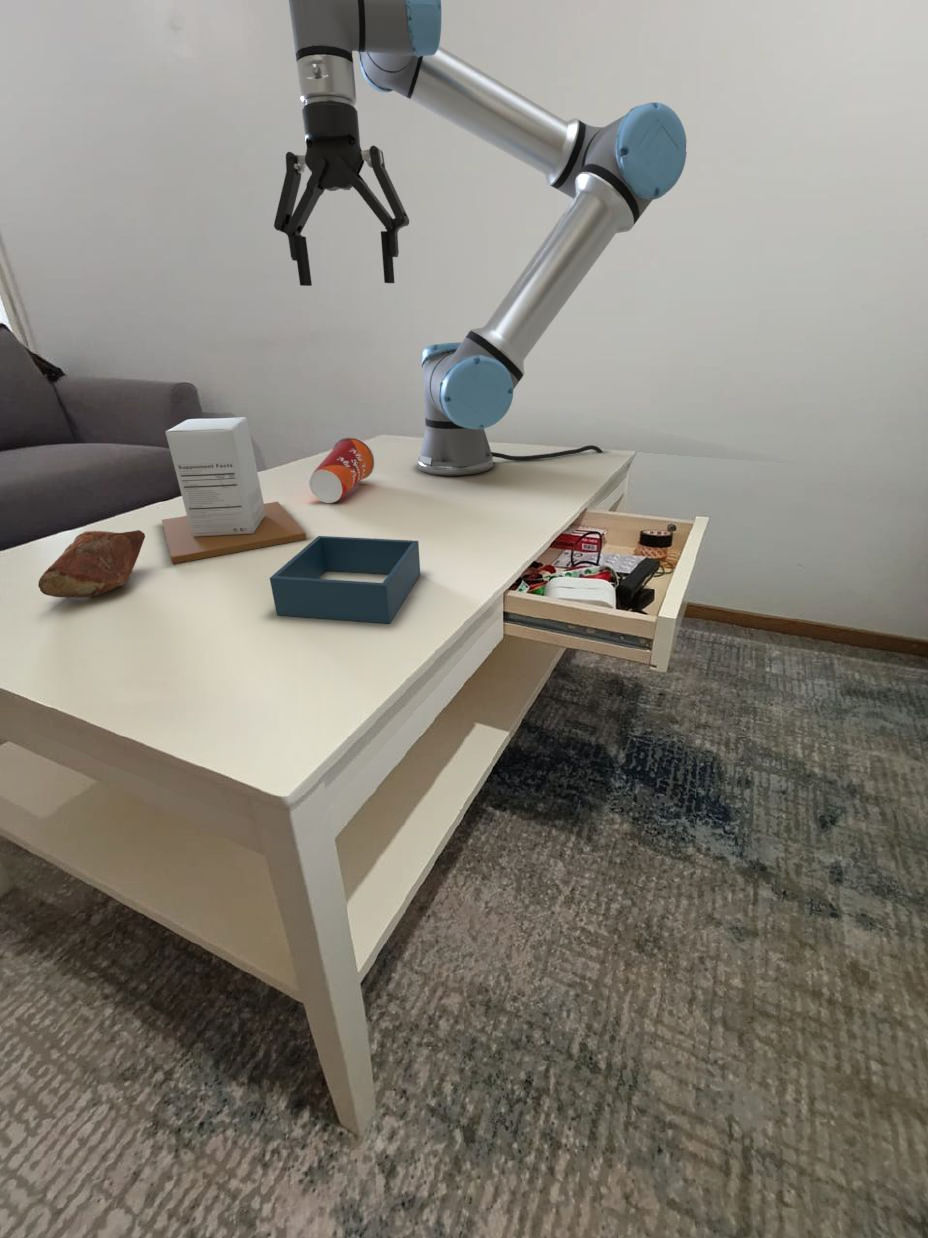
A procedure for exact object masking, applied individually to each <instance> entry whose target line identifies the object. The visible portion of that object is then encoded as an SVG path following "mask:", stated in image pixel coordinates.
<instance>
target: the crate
mask: <svg viewBox="0 0 928 1238" xmlns="http://www.w3.org/2000/svg"><path fill="white" fill-rule="evenodd" d="M326 571H328V572H329V571H330V572H342V573H343V572H345V573H363V574H375V575H376V574H378V575H387V576H386V578H385V579H384V580H383V581H382V582H376V581H375V582H373V581H357V580H343V579H327V578H326V579H325V578H320V577H321V576H322V575H323V574H324V573H325V572H326ZM420 575H421V559H420V545H419V540H410V539H409V540H408V539H391V538H390V539H388V538H371V537H370V538H369V537H351V536H350V537H348V536H329V535H328V536H327V535H318V536H316V537H315V538H314V539H313V540H312V541H311V542H310V543H308V544H307V545H306V546H304V547H303V548H302V549H301V550H300V551H299V552H298V553H297V554H296V555H294V556H293V557H292V558H291V559H290V560H288V561H287V562H286V563H285V564H284V565H282V567H280V568H279V570H277V571H276V572H275V573H274V574H272V575H271V576H270V577H269V582H270V587H271V593H272V598H273V603H274V607H275V612H276V616H285V617H299V618H312V619H322V620H323V619H325V620H337V621H338V620H339V621H352V622H365V623H376V624H377V623H378V624H390V623H391V622H392V620H393V619H394V617H395V616H396V614H397V612H398V611H399V609H400V608H401V606H402V605H403V603H404V601H405V600H406V598H407V596H409V593H410V592H411V590H412V588H413V587H414V585H415V584H416V582H417V580H418V579H419V577H420Z"/></svg>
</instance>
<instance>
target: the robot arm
mask: <svg viewBox="0 0 928 1238" xmlns="http://www.w3.org/2000/svg"><path fill="white" fill-rule="evenodd" d="M288 6H289V13H290V15H289V16H290V21H291V29H292V37H293V38H292V39H293V45H294V53H295V61H296V71H297V80H298V87H299V96H300V101H301V103H302V104H303V105H304V106H303V108H302V110H301V114H302V124H303V132H304V140H305V145H306V151H305V154H298V153H297V154H296V153H294V152H293V151H292V152H291V151H287V152H286V153H285V171H286V172H285V176H284V178H283V180H284V181H283V185H282V188H281V192H280V197H279V202H278V206H277V209H276V214H275V218H274V222H273V228H274V229H275V230H276V231H277V232H281V233H283V234H285V235H286V236H287V238H288V245H289V253H290V258H291V260H292V261H293V262H294V261H295V262H296V264H297V265H296V266H297V273H298V281H299V286H302V287H303V286H304V287H312V286H313V283H312V275H311V267H310V260H309V253H308V252H309V251H308V244H307V243H308V242H307V237H306V236H305V235H303V234H302V231H303V230H304V228H305V226H306V224H307V222H308V220H309V219H310V216H311V214H312V213H313V210H314V209H315V206H316V205H317V203H318V201H319V199H320V197H321V196H322V195H323V194H324V192H325V190H327V191H329V192H336V191H338V190H343V191H351V189H352V188H354V190H356V192H357V193H358V194H359V195H360V196H361V198H362V200H363V201H364V202H365V203H366V205H367V206H368V207H369V208H370V210H371V211H372V213H373V214H374V215H375V216H376V217H377V219H378V220H379V221H380V223H381V224H382V225H383V226H384V229H385V230H381V231H380V241H381V253H382V254H381V255H382V268H383V281H384V284H395V271H394V270H395V268H394V258H399V253H400V249H399V235H398V233H399V231H400V230H401V229H402V228H404V227H408V226H409V224H410V218H409V216H408V214H407V212H406V210H405V207H404V206H403V204H402V201H401V199H400V197H399V194H398V193H397V190H396V188H395V186H394V184H393V182H392V180H391V177H390V175H389V173H388V171H387V169H386V164H385V163H386V162H385V157H384V152H383V150H382V149H380V148H379V147H378V146H376V145H371V146H370V147H369V149H365V150H362V147H361V138H360V137H361V136H360V128H359V127H360V125H359V114H358V110H357V109H356V108H355V105H356V104H357V92H356V78H355V68H354V58H353V52H358V63H359V68H360V71H361V74H362V76H363V78H364V79H365V81H366V82H367V84H368V85H369V86H370V87H371V88H373V89H374V90H375V91H377V92H379V93H390V92H393V91H394V92H395V93H398V94H399V95H401V96H403V97H405V98H407V99H409V100H411V102H414V103H416V104H418V105H420V106H421V107H424V108H425V109H426V110H429V112H430V111H431V112H432V113H434V114H435V115H437V116H440V117H441V118H443V119H445V120H447V121H448V122H449V123H452V124H454V125H455V126H457V127H459V128H461V129H463V130H465V131H466V132H468V133H470V134H472V135H474V136H475V137H477V138H479V139H481V140H482V141H484V142H486V143H488V144H490V145H491V146H493V147H495V148H497V149H499V150H500V151H502V152H504V153H506V154H507V155H510V156H511V157H513V158H515V159H517V160H518V161H520V162H522V163H524V164H525V165H527V166H529V167H531V168H533V169H535V171H538V172H540V173H542V174H544V176H545V180H546V184H547V185H548V186H550V187H552V188H554V189H556V190H558V191H560V192H561V193H563V194H565V195H566V196H568V197H569V198H572V200H571V201H570V203H569V204H568V206H567V207H566V208H565V210H564V212H563V213H562V214H561V216H560V218H559V219H558V220H557V222H556V223H555V224H554V226H553V227H552V229H551V230H550V232H549V233H548V235H547V236H546V237H545V239H544V240H543V242H542V243H541V244H540V246H539V247H538V249H537V250H536V252H535V253H534V255H533V256H532V257H531V259H530V261H529V262H528V263H527V264H526V266H525V268H524V269H523V270H522V272H521V273H520V275H519V276H518V278H517V279H516V281H514V283H513V285H512V286H511V287H510V289H509V291H508V292H507V293H506V295H505V296H504V298H503V299H502V301H501V302H500V304H498V306H497V308H496V309H495V311H494V312H493V313H492V315H491V316H490V318H489V319H488V320H487V322H486V323H485V325H484V326H482V327H478V328H477V327H476V328H471V329H470V330H469V331H468V333H467V335H466V336H465V337H464V338H463V340H462V341H460V342H459V341H458V342H444V343H443V342H442V343H437V344H429V345H426V346H425V347H424V348H423V350H422V355H421V356H422V359H421V363H420V364H421V368H422V381H423V382H422V383H423V399H424V418H425V419H424V422H425V430H424V434H423V439H422V443H421V445H420V446H421V447H420V450H419V455H418V457H417V458H418V459H417V462H418V469H419V470H420V471H421V472H423V473H426V474H429V475H436V476H446V477H452V476H453V477H455V476H457V477H458V476H470V475H477V474H480V473H484V472H487V471H489V470H492V468H493V466H494V464H493V463H494V462H493V461H494V458H499V459H504V460H507V461H535V460H542V459H543V460H545V459H551V458H558V457H563V456H569V455H575V454H579V453H583V452H587V451H591V450H592V451H595V452H596V453H598V454H603V453H604V451H603V450H602V449H601V448H600V447H598V445H591V444H590V445H585V446H582V447H579V448H575V449H567V450H562V451H556V452H551V453H542V454H541V453H540V454H533V455H509V454H505V453H500V452H495V451H492V450H491V447H490V443H489V441H488V437H487V434H486V431H485V429H487V428H490V427H492V426H494V425H496V424H497V423H498V422H500V421H502V419H503V418H504V417H505V416H506V414H507V413H508V411H509V410H510V407H511V406H512V402H513V398H514V390H515V388H516V387H517V385H518V384H519V382H521V380H522V379H523V377H524V376H525V364H524V362H525V359H526V358H527V357H528V355H529V354H530V352H531V351H532V350H533V349H534V347H535V346H536V344H537V343H538V341H539V340H540V339H541V338H542V336H543V335H544V333H545V332H546V331H547V329H548V328H549V326H550V325H551V323H553V321H554V319H555V318H556V317H557V316H558V314H559V313H560V311H561V310H562V308H563V307H564V306H565V305H566V303H567V302H568V300H569V299H570V297H571V296H572V295H573V294H574V292H575V291H576V289H577V288H578V287H579V285H580V284H581V282H583V279H585V277H586V275H588V273H589V272H590V270H592V267H593V266H594V265H595V263H596V262H597V261H598V259H599V258H600V257H601V255H602V254H603V252H604V251H605V249H606V248H607V246H608V245H609V244H610V243H611V242H612V240H613V238H614V237H615V236H616V234H621V233H627V232H629V231H631V230H632V229H633V227H634V226H635V224H636V223H637V222H638V220H639V219H640V218H641V217H642V215H643V213H644V212H645V211H646V210H647V209H648V207H649V205H650V204H651V203H652V202H653V201H654V200H657V199H660V198H662V197H664V196H665V195H666V194H667V193H668V192H670V191H671V190H672V189H673V188H674V187H675V185H676V184H677V183H678V181H679V179H680V178H681V175H682V173H683V172H684V168H685V165H686V160H687V142H688V141H687V135H686V130H685V128H684V124H683V123H682V120H681V118H680V117H679V115H678V114H677V113H676V112H675V110H673V109H672V108H671V107H670V106H668V105H666V104H665V103H663V102H662V103H661V102H655V101H654V102H653V101H652V102H647V103H644V104H639V105H635V106H634V107H633V108H631V109H630V110H629V111H628V112H626V113H625V114H624V115H622V116H621V117H619V118H617V119H615V120H614V121H612V122H610V123H609V124H606V125H605V126H602V127H600V126H594V125H589V124H587V123H585V122H583V121H582V120H580V119H579V118H577V117H574V118H572V119H570V120H567V121H566V120H564V119H563V118H561V117H560V116H558V115H556V114H555V113H553V112H551V111H549V110H548V109H546V108H544V107H543V106H541V105H539V104H538V103H536V102H534V101H533V100H531V99H529V98H528V97H526V96H524V95H522V94H521V93H519V92H518V91H515V89H513V88H510V86H508V85H506V84H504V83H503V82H501V81H499V80H497V79H496V78H495V77H492V76H491V75H489V74H488V73H485V71H482V70H480V69H479V68H478V67H476V66H474V65H473V64H471V63H469V62H467V61H466V60H464V59H462V58H461V57H459V56H457V55H456V54H454V53H452V52H450V51H449V50H447V49H445V48H444V47H442V46H440V42H441V35H442V33H441V32H442V0H288ZM365 162H366V163H367V166H368V167H369V168H371V170H372V171H373V173H374V176H375V177H376V180H377V181H378V184H379V187H380V188H381V190H382V192H383V194H384V195H383V196H384V197H385V198H386V201H387V203H388V205H389V207H390V209H391V212H392V214H393V215H394V218H393V217H392V216H391V214H390V213H389V212H388V211H387V209H386V207H385V206H384V205H383V204H382V202H381V201H380V200H379V199H378V197H377V196H376V195H375V193H374V192H373V190H371V188H370V187H369V185H368V183H367V182H366V181H365V179H364V178H363V177H362V176H361V171H362V169H363V167H364V164H365ZM306 167H307V168H308V169H309V171H310V172H311V174H310V176H309V178H308V180H307V182H306V187H305V189H304V192H303V193H302V195H301V197H300V199H299V201H298V203H297V205H296V201H297V197H298V193H299V189H300V185H301V180H302V174H303V173H304V172H305V168H306ZM295 206H296V208H295Z"/></svg>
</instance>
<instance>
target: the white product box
mask: <svg viewBox="0 0 928 1238" xmlns="http://www.w3.org/2000/svg"><path fill="white" fill-rule="evenodd" d="M164 433H165V436H166V440H167V444H168V448H169V452H170V456H171V460H172V463H173V467H174V471H175V475H176V478H177V482H178V486H179V490H180V494H181V498H182V501H183V506H184V509H185V513H186V516H187V517H188V521H189V525H190V529H191V532H192V536H193V537H199V536H219V535H238V534H253V533H254V532H255V530H256V529H257V527H258V526H259V524H260V523H261V521H262V520H263V518H264V516H265V515H266V512H265V507H264V504H265V502H264V497H263V492H262V488H261V487H262V486H261V483H260V478H259V473H258V467H257V463H256V457H255V453H254V447H253V443H252V438H251V437H252V436H251V433H250V428H249V423H248V419H247V417H246V416H241V417H240V416H239V417H226V418H225V417H222V418H189V419H186V420H184V421H182V422H180V423H179V424H176V425H174V426H173V427H171V428H170V429H167V430H165V431H164Z"/></svg>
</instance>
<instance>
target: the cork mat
mask: <svg viewBox="0 0 928 1238" xmlns="http://www.w3.org/2000/svg"><path fill="white" fill-rule="evenodd" d="M264 507H265V512H266V515H265V516H264V518H263V520H262V521H261V523H260V524H259V526H258V527H257V529H256V530H255V532H254V533H253V534H238V535H219V536H199V537H193V536H192V532H191V529H190V525H189V521H188V517H187V515H183V516H178V517H169V518H165V519H164V518H163V519H161V523H162V527H163V532H164V535H165V539H166V544H167V547H168V553H169V555H170V559H171V563H172V565H176V564H181V563H186V562H187V563H188V562H192V561H197V560H203V559H208V558H209V559H210V558H213V557H218V556H225V555H230V554H234V553H235V554H236V553H240V552H245V551H251V550H257V549H262V548H267V547H272V546H277V545H283V544H289V543H294V542H299V541H305V540H307V534H306V532H305V531H304V530H303V529H302V527H301V526H300V525H299V524H298V523H297V521H295V519H294V518H293V517H292V516H291V515H290V513H288V511H287V510H286V509H285V508H284V507H283V506H282V505H281V504H280V502H279V501H273V502H264Z"/></svg>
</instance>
